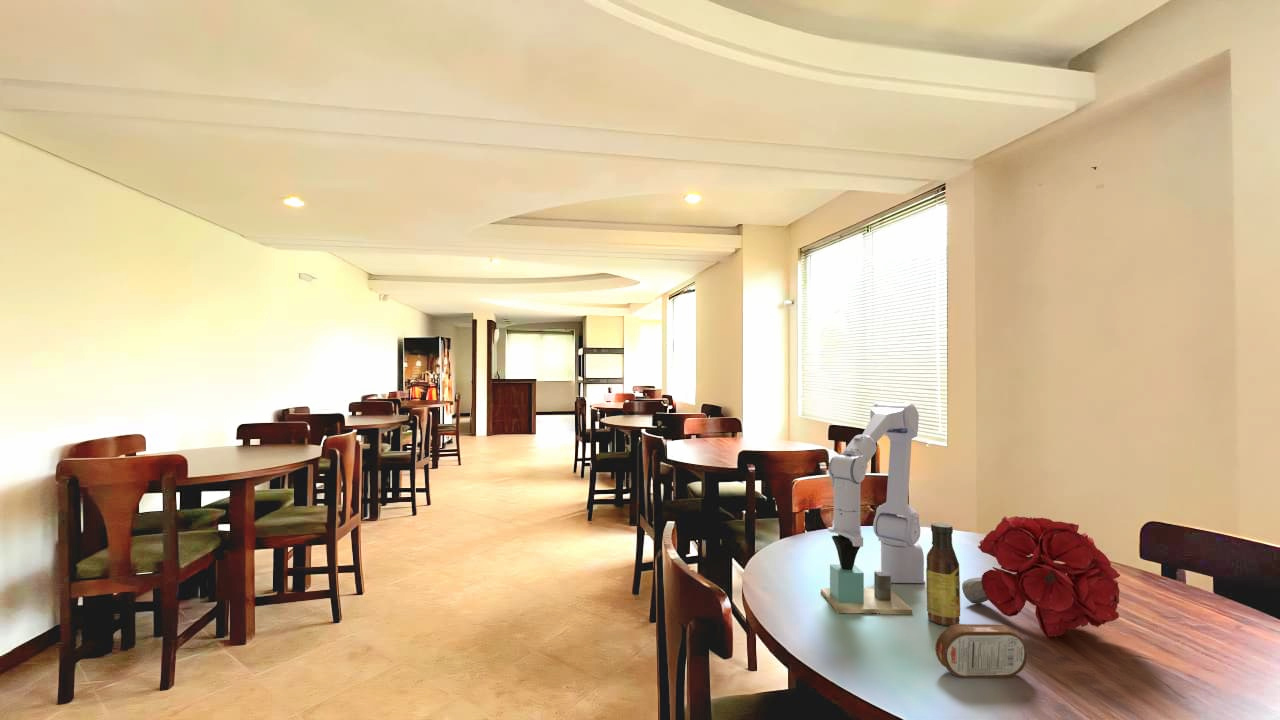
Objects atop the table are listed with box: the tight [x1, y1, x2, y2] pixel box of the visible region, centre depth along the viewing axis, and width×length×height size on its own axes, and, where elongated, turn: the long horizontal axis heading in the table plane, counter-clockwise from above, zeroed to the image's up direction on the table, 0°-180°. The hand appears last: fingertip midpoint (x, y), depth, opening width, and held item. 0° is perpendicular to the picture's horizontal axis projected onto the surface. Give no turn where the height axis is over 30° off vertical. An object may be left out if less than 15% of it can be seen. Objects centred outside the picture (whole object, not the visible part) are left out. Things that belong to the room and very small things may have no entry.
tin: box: [934, 623, 1029, 679], centre depth 101 cm, size 15×3×8 cm, turn 92°
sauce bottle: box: [925, 522, 961, 627], centre depth 123 cm, size 6×6×20 cm
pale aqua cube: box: [829, 564, 865, 603], centre depth 132 cm, size 6×6×7 cm
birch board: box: [820, 571, 913, 615], centre depth 132 cm, size 16×12×6 cm
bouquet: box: [961, 515, 1121, 637], centre depth 121 cm, size 22×24×30 cm
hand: (846, 569), depth 132 cm, fingers closed, pressing on pale aqua cube
